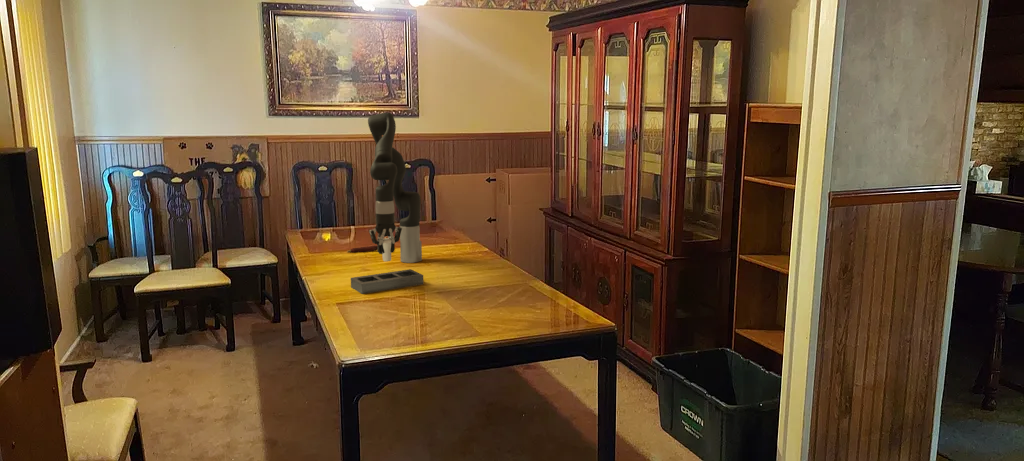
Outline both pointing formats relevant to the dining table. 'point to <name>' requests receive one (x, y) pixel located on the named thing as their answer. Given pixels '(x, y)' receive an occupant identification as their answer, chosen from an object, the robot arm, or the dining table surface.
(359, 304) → the dining table surface
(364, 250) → the gavel
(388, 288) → the three-window grey frame
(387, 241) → the milkshake
